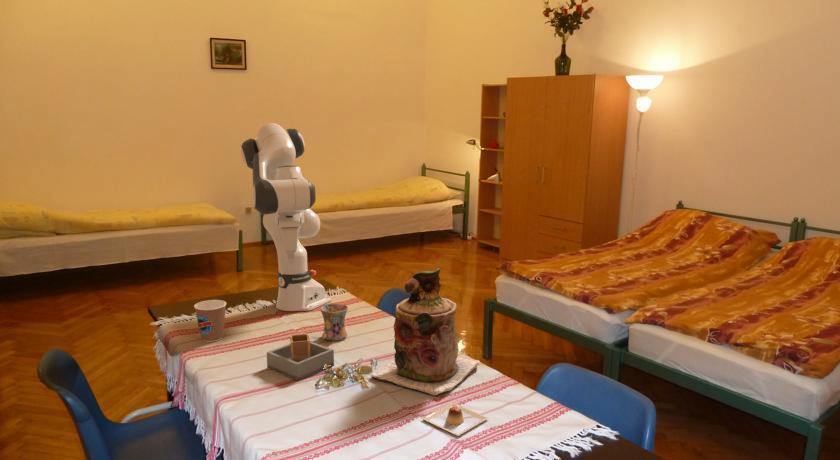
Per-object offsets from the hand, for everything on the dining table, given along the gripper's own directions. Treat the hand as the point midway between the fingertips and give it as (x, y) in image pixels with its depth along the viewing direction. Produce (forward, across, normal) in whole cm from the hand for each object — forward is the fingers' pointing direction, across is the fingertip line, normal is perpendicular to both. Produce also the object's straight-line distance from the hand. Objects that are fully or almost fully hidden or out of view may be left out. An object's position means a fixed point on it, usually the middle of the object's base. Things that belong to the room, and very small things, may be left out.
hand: (291, 260), depth 192 cm
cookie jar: (+29, +28, +38) cm, 56 cm away
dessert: (+30, +56, +40) cm, 75 cm away
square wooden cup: (+28, +16, +2) cm, 33 cm away
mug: (+29, -7, +13) cm, 33 cm away
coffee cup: (+29, -13, -27) cm, 42 cm away
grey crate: (+29, +16, +2) cm, 34 cm away
